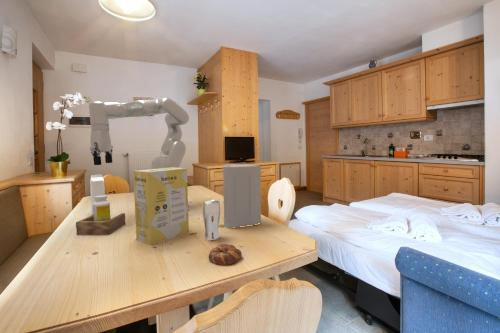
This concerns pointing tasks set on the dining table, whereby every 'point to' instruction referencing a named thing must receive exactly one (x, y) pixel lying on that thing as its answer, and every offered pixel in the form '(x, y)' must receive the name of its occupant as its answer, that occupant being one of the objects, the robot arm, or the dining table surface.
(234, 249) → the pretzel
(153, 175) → the pasta box
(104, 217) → the supplement bottle
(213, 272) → the dining table surface
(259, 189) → the paper bag
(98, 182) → the milk
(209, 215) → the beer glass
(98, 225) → the dock
